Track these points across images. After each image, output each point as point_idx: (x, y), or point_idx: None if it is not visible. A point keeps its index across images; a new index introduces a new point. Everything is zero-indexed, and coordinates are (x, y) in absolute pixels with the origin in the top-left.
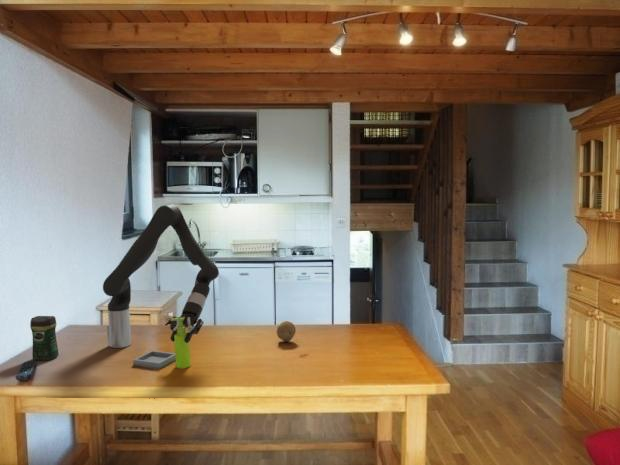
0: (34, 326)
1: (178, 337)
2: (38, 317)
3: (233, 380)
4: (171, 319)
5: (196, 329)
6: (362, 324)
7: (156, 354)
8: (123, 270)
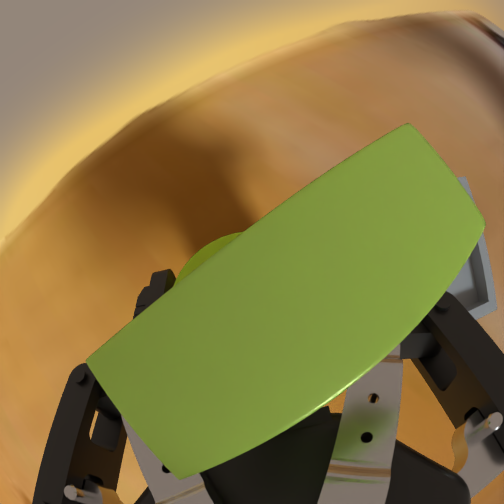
0: None
1: (219, 238)
2: None
3: (13, 283)
4: (441, 176)
5: (72, 398)
6: None
7: (466, 308)
8: None
